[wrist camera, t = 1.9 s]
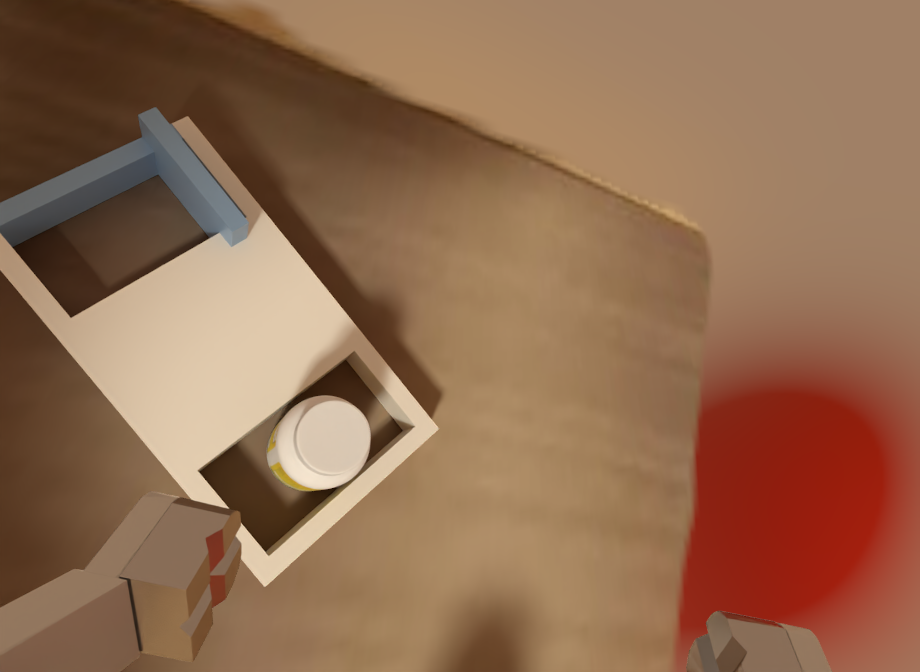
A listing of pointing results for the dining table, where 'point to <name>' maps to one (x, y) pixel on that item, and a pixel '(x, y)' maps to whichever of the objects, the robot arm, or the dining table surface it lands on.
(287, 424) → the supplement bottle
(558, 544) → the dining table surface
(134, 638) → the robot arm
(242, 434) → the pocket rack
